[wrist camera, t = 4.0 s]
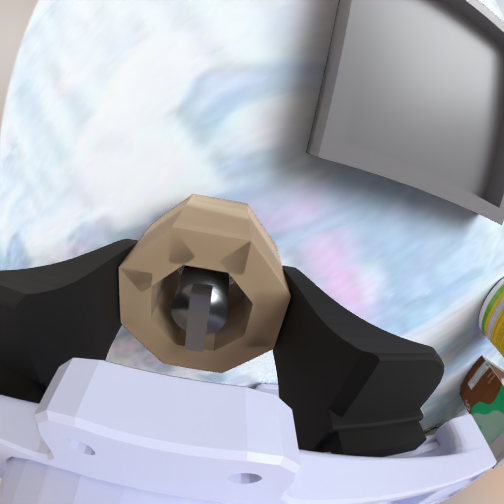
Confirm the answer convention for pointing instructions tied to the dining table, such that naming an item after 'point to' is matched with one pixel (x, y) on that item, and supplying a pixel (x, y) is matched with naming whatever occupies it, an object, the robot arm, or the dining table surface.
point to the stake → (200, 304)
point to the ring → (214, 258)
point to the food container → (486, 403)
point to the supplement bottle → (494, 316)
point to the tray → (417, 98)
